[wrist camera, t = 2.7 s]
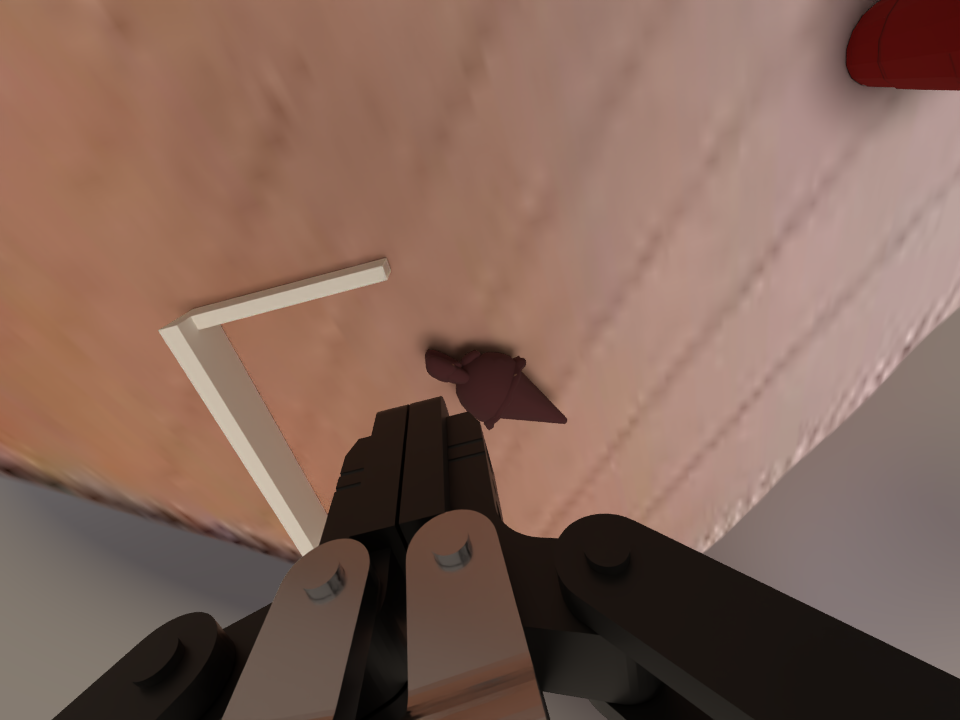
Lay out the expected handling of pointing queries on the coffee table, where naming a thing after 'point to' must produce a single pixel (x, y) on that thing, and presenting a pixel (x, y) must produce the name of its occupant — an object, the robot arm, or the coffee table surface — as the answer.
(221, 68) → the coffee table surface
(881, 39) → the plastic cup
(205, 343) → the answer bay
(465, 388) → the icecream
